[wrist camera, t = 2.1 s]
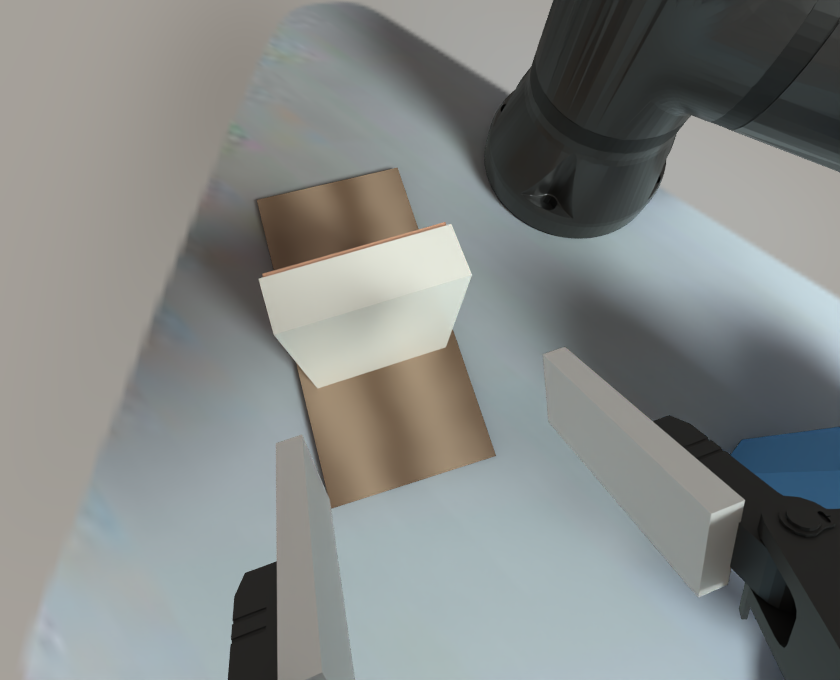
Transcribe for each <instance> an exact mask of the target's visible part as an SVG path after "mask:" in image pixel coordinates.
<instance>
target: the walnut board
mask: <svg viewBox="0 0 840 680" xmlns="http://www.w3.org/2000/svg"><path fill="white" fill-rule="evenodd" d="M257 203H258V207H259V211H260V215H261V219H262V224H263V228H264V232H265V236H266V240H267V244H268V248H269V253H270V257H271V261H272V265H273V269H274V270H278V269H282V268H285V267H289V266H292V265H296V264H299V263H303V262H306V261H310V260H313V259H317V258H320V257H324V256H327V255H331V254H334V253H338V252H342V251H345V250H349V249H352V248H356V247H359V246H363V245H366V244H370V243H373V242H377V241H380V240H384V239H387V238H391V237H394V236H398V235H402V234H405V233H409V232H412V231H416V230H419V229H418V226H417V223H416V221H415V218H414V215H413V212H412V209H411V206H410V203H409V200H408V197H407V194H406V191H405V188H404V185H403V183H402V180H401V177H400V174H399V171H398V168H394V169H389V170H385V171H381V172H376V173H372V174H368V175H363V176H359V177H355V178H350V179H346V180H341V181H337V182H333V183H328V184H324V185H320V186H315V187H311V188H307V189H302V190H298V191H294V192H289V193H285V194H281V195H276V196H272V197H268V198H263V199H259V200H257ZM296 365H297V369H298V373H299V377H300V381H301V385H302V389H303V394H304V398H305V402H306V406H307V410H308V414H309V418H310V423H311V427H312V431H313V435H314V439H315V443H316V447H317V452H318V456H319V460H320V464H321V468H322V472H323V476H324V481H325V485H326V489H327V493H328V497H329V499H330V505H331V509H332V508H335V507H338V506H341V505H344V504H347V503H350V502H353V501H357V500H360V499H363V498H366V497H369V496H372V495H375V494H378V493H381V492H385V491H388V490H391V489H394V488H397V487H400V486H403V485H406V484H410V483H413V482H416V481H419V480H422V479H425V478H428V477H431V476H434V475H438V474H441V473H444V472H447V471H450V470H453V469H456V468H459V467H463V466H466V465H469V464H472V463H475V462H478V461H481V460H484V459H488V458H491V457H494V456H496V454H495V452H494V449H493V446H492V443H491V440H490V437H489V434H488V431H487V428H486V425H485V422H484V419H483V416H482V414H481V411H480V408H479V405H478V402H477V399H476V396H475V393H474V390H473V387H472V384H471V381H470V378H469V376H468V373H467V370H466V367H465V364H464V361H463V358H462V355H461V352H460V349H459V346H458V343H457V340H456V338H455V335H454V332H453V329H452V332H451V334H450V337H449V340H448V343H447V345H446V347H445V348H442V349H439V350H436V351H433V352H429V353H426V354H423V355H420V356H417V357H414V358H411V359H408V360H405V361H401V362H398V363H395V364H392V365H389V366H386V367H383V368H380V369H377V370H374V371H370V372H367V373H364V374H361V375H358V376H355V377H352V378H349V379H346V380H343V381H339V382H336V383H333V384H330V385H327V386H324V387H321V388H318V389H317V387H316V386H315V385H314V384H313V382H312V381H311V380H310V379H309V377H308V376H307V375H306V374H305V373H304V371H303V370H302V369H301V368H300V366H299V365H298V364H297V363H296Z"/></svg>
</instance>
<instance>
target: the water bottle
mask: <svg viewBox="0 0 840 680" xmlns="http://www.w3.org/2000/svg"><path fill="white" fill-rule="evenodd" d="M731 456H732V457H733V458H735V459H736V460H737V461H738V462H740V463H741V464H742V465H744V466H745V467H746V468H747V469H749V470H750V471H751V472H753V473H754V474H755V475H756V476H758V477H759V478H760V479H761V480H763V481H764V482H765V483H767V484H768V485H769V486H770V487H772V488H773V489H774V490H776V491H777V492H779V493H780V494H782V495H783V496H794V497H801V498H804V499H807V500H810V501H813V502H815V503H817V504H819V505H821V506H822V507H824V508H826V509H840V427H834V428H826V429H819V430H811V431H804V432H796V433H789V434H781V435H773V436H766V437H758V438H751V439H743V440H741V442H740V443H739V444H738V446H737V447H736V448H735V450H734V451H733V452H732V454H731Z"/></svg>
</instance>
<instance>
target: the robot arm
mask: <svg viewBox="0 0 840 680" xmlns="http://www.w3.org/2000/svg"><path fill="white" fill-rule="evenodd" d="M691 115H692V116H695V117H698V118H700V119H703V120H705V121H708V122H711V123H714V124H717V125H719V126H722V127H725V128H727V129H729V130H731V131H734V132H737V133H739V134H742V135H745V136H747V137H750V138H752V139H755V140H758V141H760V142H763V143H766V144H768V145H770V146H773V147H776V148H779V149H781V150H783V151H786V152H789V153H791V154H794V155H797V156H799V157H802V158H804V159H807V160H810V161H812V162H815V163H817V164H820V165H822V166H825V167H828V168H830V169H833V170H836V171H838V172H840V0H553V3H552V6H551V9H550V12H549V15H548V18H547V21H546V24H545V27H544V30H543V33H542V36H541V39H540V42H539V45H538V48H537V51H536V54H535V57H534V60H533V63H532V66H531V68H530V69H529V70H528V71H527V73H526V74H525V75H524V76H523V78H522V79H521V81H520V82H519V84H518V86H517V88H516V90H514V91H513V92H512V93H511V94H510V95H509V96H508V97H507V98H506V99H505V101H504V102H503V103H502V105H501V106H500V107H499V109H498V111H497V112H496V115H495V117H494V119H493V121H492V124H491V127H490V131H489V135H488V138H487V142H486V147H485V167H486V172H487V176H488V179H489V181H490V184H491V186H492V188H493V190H494V192H495V193H496V195H497V196H498V198H499V199H500V200H501V202H502V203H503V204H504V205H505V206H506V207H507V208H508V209H509V210H510V211H511V212H512V213H513V214H514V215H515V216H517V217H518V218H519V219H520V220H522V221H524V222H525V223H527V224H528V225H530V226H532V227H534V228H536V229H538V230H541V231H543V232H546V233H549V234H552V235H556V236H561V237H567V238H592V237H598V236H602V235H606V234H609V233H611V232H614V231H616V230H618V229H620V228H622V227H623V226H625V225H626V224H628V223H629V222H630V221H632V220H633V219H634V218H635V217H636V216H637V215H638V214H639V213H640V212H641V210H642V209H643V208H644V207H645V206H646V205H647V204H648V202H649V201H650V200H651V199H652V197H653V196H654V194H655V193H656V191H657V189H658V188H659V186H660V183H661V181H662V178H663V174H664V171H665V166H666V158H667V156H668V154H669V152H670V150H671V148H672V145H673V143H674V140H675V137H676V134H677V132H678V131H679V129H680V128H681V127H682V126H683V124H684V123H685V122H686V120H687V119H688V118H689V117H690V116H691ZM543 362H544V374H545V386H546V398H547V410H548V422H549V423H550V424H551V425H552V426H553V428H554V429H555V430H556V431H557V432H558V433H559V435H560V436H561V437H562V438H563V439H564V440H565V442H566V443H567V444H568V445H569V446H570V448H571V449H572V450H573V451H574V452H575V453H576V455H577V456H578V457H579V458H580V459H581V460H582V462H583V463H584V464H585V465H586V466H587V468H588V469H589V470H590V471H591V472H592V473H593V475H594V476H595V477H596V478H597V479H598V480H599V482H600V483H601V484H602V485H603V486H604V487H605V489H606V490H607V491H608V492H609V493H610V495H611V496H612V497H613V498H614V499H615V500H616V502H617V503H618V504H619V505H620V506H621V507H622V509H623V510H624V511H625V512H626V513H627V515H628V516H629V517H630V518H631V519H632V520H633V522H634V523H635V524H636V525H637V526H638V527H639V529H640V530H641V531H642V532H643V533H644V534H645V536H646V537H647V538H648V539H649V540H650V542H651V543H652V544H653V545H654V546H655V547H656V549H657V550H658V551H659V552H660V553H661V554H662V556H663V557H664V558H665V559H666V560H667V561H668V563H669V564H670V565H671V566H672V567H673V569H674V570H675V571H676V572H677V573H678V574H679V576H680V577H681V578H682V579H683V580H684V581H685V583H686V584H687V585H688V586H689V587H690V589H691V590H692V591H693V592H694V593H695V594H696V596H697V597H701V596H703V595H705V594H708V593H710V592H712V591H714V590H717V589H719V588H721V587H724V586H726V585H728V582H729V577H730V572H731V568H732V569H733V570H734V571H735V572H736V573H737V574H738V575H739V576H740V577H741V578H742V579H743V580H744V581H745V585H744V590H743V594H742V598H741V602H740V607H739V610H740V615H741V619H747V618H748V614H749V610H750V607H751V610H752V612H753V614H754V616H755V619H756V620H757V622H758V624H759V626H760V628H761V630H762V633H763V635H764V637H765V639H766V641H767V643H768V645H769V647H770V649H771V651H772V653H773V656H774V658H775V660H776V662H777V664H778V666H779V668H780V670H781V672H782V674H783V676H784V678H785V680H840V509H826V508H824V507H822V506H821V505H819V504H817V503H815V502H813V501H810V500H807V499H804V498H801V497H794V496H783V495H782V494H780V493H779V492H777V491H776V490H774V489H773V488H772V487H770V486H769V485H768V484H767V483H765V482H764V481H763V480H761V479H760V478H759V477H758V476H756V475H755V474H754V473H753V472H751V471H750V470H749V469H747V468H746V467H745V466H744V465H742V464H741V463H740V462H738V461H737V460H736V459H735V458H733V457H732V456H731V455H729V454H728V453H727V452H726V451H724V452H723V451H722V448H720V447H719V446H718V445H717V444H715V443H714V442H713V441H712V440H710V441H709V440H708V437H706V436H705V435H704V434H703V433H701V432H700V431H699V430H697V429H696V428H695V427H694V426H692V425H691V424H689V423H686V422H684V421H682V420H679V419H677V418H674V417H672V416H670V415H669V416H666V417H663V418H661V419H658V420H655V421H652V420H650V419H649V418H648V417H647V416H646V415H645V414H643V413H642V412H641V411H640V410H639V409H637V408H636V407H635V406H634V405H633V404H632V403H630V402H629V401H628V400H627V399H626V398H625V397H623V396H622V395H621V394H620V393H619V392H618V391H616V390H615V389H614V388H613V387H612V386H610V385H609V384H608V383H607V382H606V381H605V380H603V379H602V378H601V377H600V376H599V375H598V374H596V373H595V372H594V371H593V370H592V369H590V368H589V367H588V366H587V365H586V364H585V363H583V362H582V361H581V360H580V359H579V358H578V357H576V356H575V355H574V354H573V353H572V352H571V351H569V350H568V349H567V348H566V347H563V348H560V349H557V350H554V351H551V352H548V353H545V354H543ZM276 515H277V562H274V563H271V564H268V565H266V566H263V567H260V568H258V569H255V570H252V571H249V572H247V573H245V574H244V576H243V579H242V581H241V583H240V585H239V588H238V590H237V592H236V594H235V596H234V609H233V624H232V634H231V640H232V644H231V647H230V660H229V672H228V680H355V677H354V670H353V663H352V656H351V648H350V641H349V634H348V627H347V620H346V613H345V605H344V598H343V591H342V584H341V577H340V570H339V563H338V555H337V548H336V541H335V534H334V527H333V520H332V513H331V505H330V499H329V497H328V494H327V492H326V490H325V487H324V485H323V483H322V480H321V478H320V476H319V473H318V471H317V469H316V466H315V464H314V462H313V459H312V457H311V454H310V452H309V450H308V447H307V445H306V443H305V440H304V438H303V436H302V435H299V436H296V437H293V438H290V439H287V440H284V441H281V442H278V443H276Z"/></svg>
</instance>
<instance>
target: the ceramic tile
mask: <svg viewBox="0 0 840 680" xmlns="http://www.w3.org/2000/svg"><path fill="white" fill-rule="evenodd" d="M262 275H263V278H259V282H260V286H261V290H262V294H263V297H264V301H265V305H266V308H267V312H268V316H269V319H270V323H271V327H272V330H273V334H274V336H275V337H276V338H277V339H278V341H279V342H280V343H281V344H282V346H283V347H284V348H285V349H286V350H287V352H288V353H289V354H290V355H291V357H292V358H293V359H294V360H295V361H296V363H297V364H298V365H299V366H300V368H301V369H302V370H303V371H304V373H305V374H306V375H307V376H308V377H309V379H310V380H311V381H312V382H313V384H314V385H315V386H316V387H317V389H318V388H321V387H324V386H327V385H330V384H333V383H336V382H339V381H343V380H346V379H349V378H352V377H355V376H358V375H361V374H364V373H367V372H370V371H374V370H377V369H380V368H383V367H386V366H389V365H392V364H395V363H398V362H401V361H405V360H408V359H411V358H414V357H417V356H420V355H423V354H426V353H429V352H433V351H436V350H439V349H442V348H445V347H446V345H447V343H448V340H449V337H450V334H451V332H452V329H453V326H454V323H455V320H456V318H457V315H458V312H459V309H460V307H461V304H462V301H463V298H464V295H465V293H466V290H467V287H468V284H469V282H470V279H471V276H472V274H471V271H470V269H469V266H468V264H467V262H466V259H465V257H464V254H463V252H462V249H461V247H460V244H459V242H458V239H457V237H456V235H455V232H454V230H453V227H452V225H451V224H449V225H446V223H445V222H444V223H440V224H437V225H433V226H430V227H426V228H423V229H419V230H416V231H412V232H409V233H405V234H402V235H398V236H394V237H391V238H387V239H384V240H380V241H377V242H373V243H370V244H366V245H363V246H359V247H356V248H352V249H349V250H345V251H342V252H338V253H334V254H331V255H327V256H324V257H320V258H317V259H313V260H310V261H306V262H303V263H299V264H296V265H292V266H289V267H285V268H282V269H278V270H274V271H271V272H267V273H264V274H262Z"/></svg>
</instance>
